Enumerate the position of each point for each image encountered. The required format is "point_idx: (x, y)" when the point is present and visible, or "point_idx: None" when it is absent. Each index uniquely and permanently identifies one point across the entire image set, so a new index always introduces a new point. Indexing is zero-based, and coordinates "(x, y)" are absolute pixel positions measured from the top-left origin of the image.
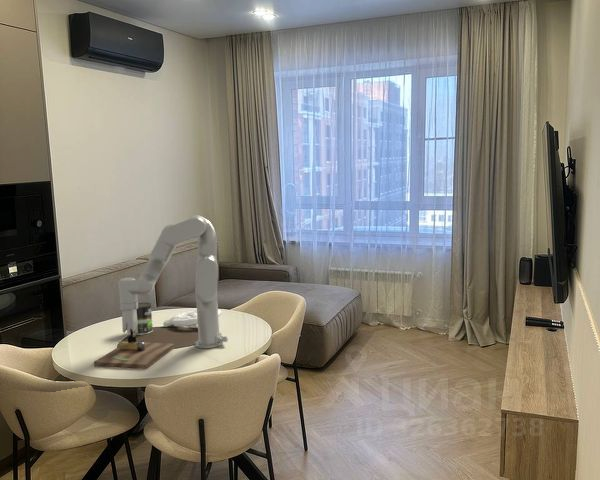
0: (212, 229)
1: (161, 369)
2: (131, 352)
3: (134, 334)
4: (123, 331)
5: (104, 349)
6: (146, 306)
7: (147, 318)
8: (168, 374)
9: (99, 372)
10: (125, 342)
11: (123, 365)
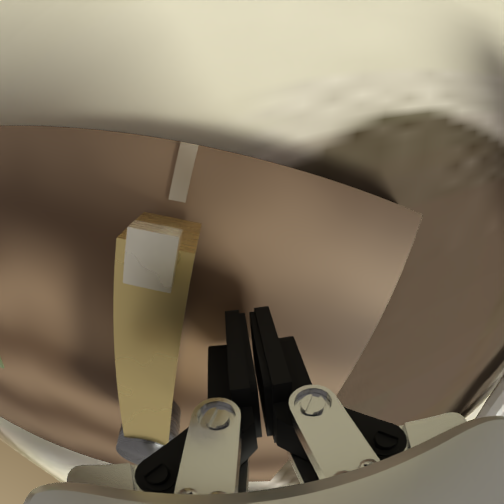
0: None
1: (31, 436)
2: (92, 353)
3: (287, 452)
4: (30, 499)
5: (335, 12)
6: None
7: None
8: (16, 442)
9: None
10: (143, 340)
11: None
